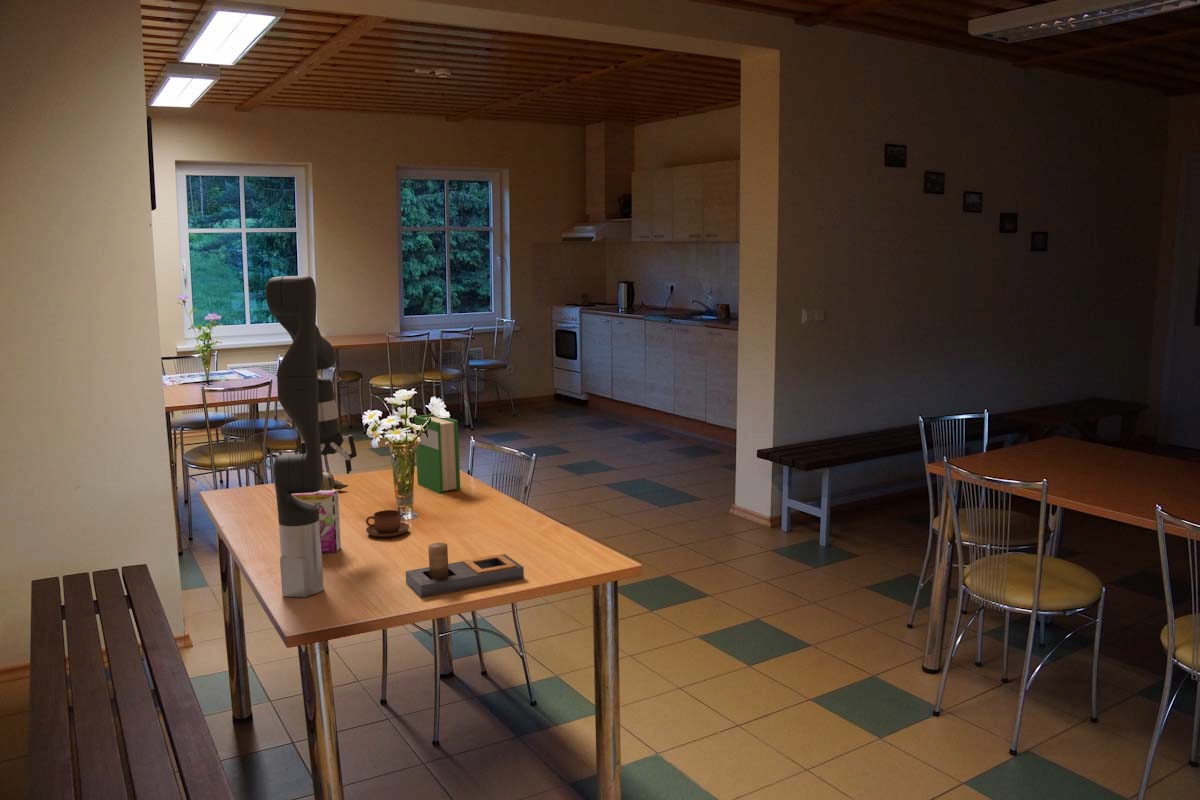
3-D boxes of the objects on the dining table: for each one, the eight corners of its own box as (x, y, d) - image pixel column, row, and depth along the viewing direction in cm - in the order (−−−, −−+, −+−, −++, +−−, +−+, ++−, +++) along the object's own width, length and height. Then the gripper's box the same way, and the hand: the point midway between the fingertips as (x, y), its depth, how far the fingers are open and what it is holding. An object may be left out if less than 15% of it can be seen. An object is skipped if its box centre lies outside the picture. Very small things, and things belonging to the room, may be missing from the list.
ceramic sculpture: (317, 461, 335) (349, 468, 328) (318, 485, 337) (349, 493, 329) (293, 468, 326) (325, 475, 319) (294, 493, 328) (326, 500, 320)
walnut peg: (445, 589, 231) (443, 548, 230) (427, 588, 232) (425, 547, 230) (451, 582, 235) (450, 543, 234) (434, 581, 236) (432, 542, 235)
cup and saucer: (367, 542, 271) (366, 520, 270) (365, 530, 282) (364, 510, 281) (410, 538, 274) (409, 516, 273) (407, 526, 285) (406, 506, 284)
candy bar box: (295, 554, 260) (291, 494, 258) (300, 548, 265) (296, 490, 263) (337, 553, 261) (333, 493, 258) (341, 547, 266) (338, 489, 263)
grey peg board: (421, 597, 225) (420, 583, 225) (406, 582, 236) (405, 569, 235) (523, 578, 237) (523, 565, 237) (505, 565, 248) (504, 552, 247)
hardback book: (460, 490, 327) (457, 420, 324) (440, 494, 323) (437, 423, 319) (437, 481, 341) (434, 414, 338) (417, 484, 337) (414, 416, 334)
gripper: (295, 423, 255) (304, 483, 258) (351, 415, 259) (359, 474, 261) (296, 418, 262) (305, 476, 265) (350, 411, 266) (358, 468, 269)
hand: (332, 475), depth 263 cm, fingers open, 8 cm apart
